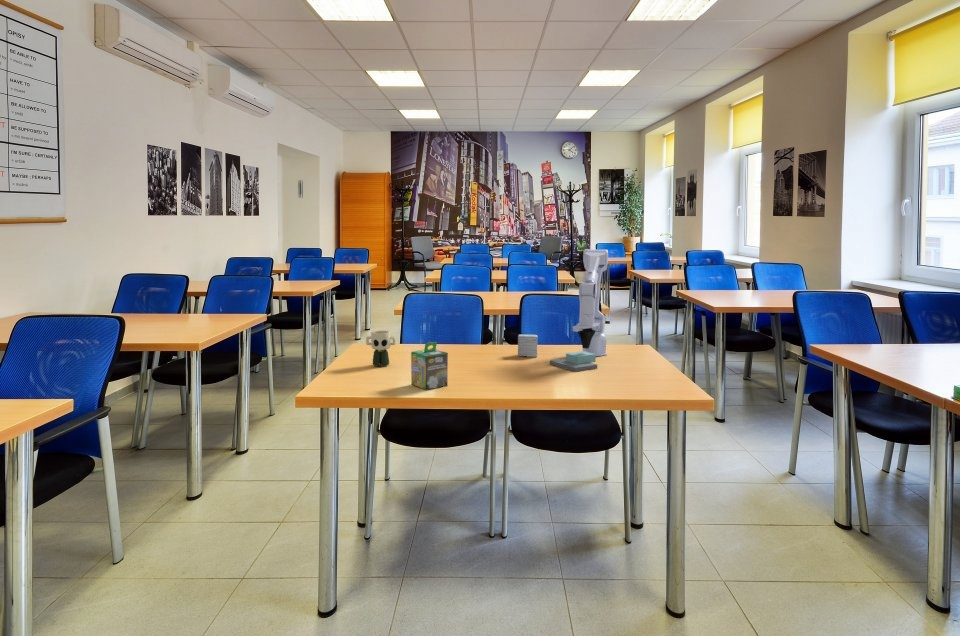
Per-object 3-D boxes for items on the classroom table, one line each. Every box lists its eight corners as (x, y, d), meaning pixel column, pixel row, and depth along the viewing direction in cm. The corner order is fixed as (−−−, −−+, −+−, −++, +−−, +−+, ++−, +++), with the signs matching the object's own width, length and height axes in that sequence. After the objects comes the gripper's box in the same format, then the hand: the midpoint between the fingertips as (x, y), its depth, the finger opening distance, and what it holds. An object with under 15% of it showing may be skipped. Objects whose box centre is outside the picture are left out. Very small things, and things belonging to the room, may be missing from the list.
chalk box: (432, 380, 220) (432, 338, 218) (448, 386, 213) (448, 342, 211) (410, 384, 214) (410, 341, 212) (425, 390, 207) (425, 345, 205)
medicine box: (537, 355, 265) (537, 334, 264) (536, 357, 261) (537, 336, 260) (518, 354, 266) (518, 334, 265) (517, 356, 262) (518, 336, 260)
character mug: (365, 367, 238) (365, 333, 236) (367, 363, 245) (366, 330, 243) (394, 367, 238) (394, 333, 237) (396, 363, 245) (395, 330, 244)
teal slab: (583, 351, 252) (566, 353, 248) (595, 354, 247) (578, 356, 242) (583, 358, 253) (565, 360, 248) (595, 361, 247) (577, 364, 242)
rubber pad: (571, 361, 255) (571, 357, 255) (597, 368, 242) (597, 364, 242) (549, 363, 249) (549, 360, 249) (575, 371, 237) (575, 367, 236)
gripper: (590, 310, 254) (588, 344, 256) (567, 313, 244) (565, 348, 246) (604, 312, 249) (603, 347, 251) (581, 315, 239) (580, 351, 241)
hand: (585, 348), depth 248 cm, fingers closed
